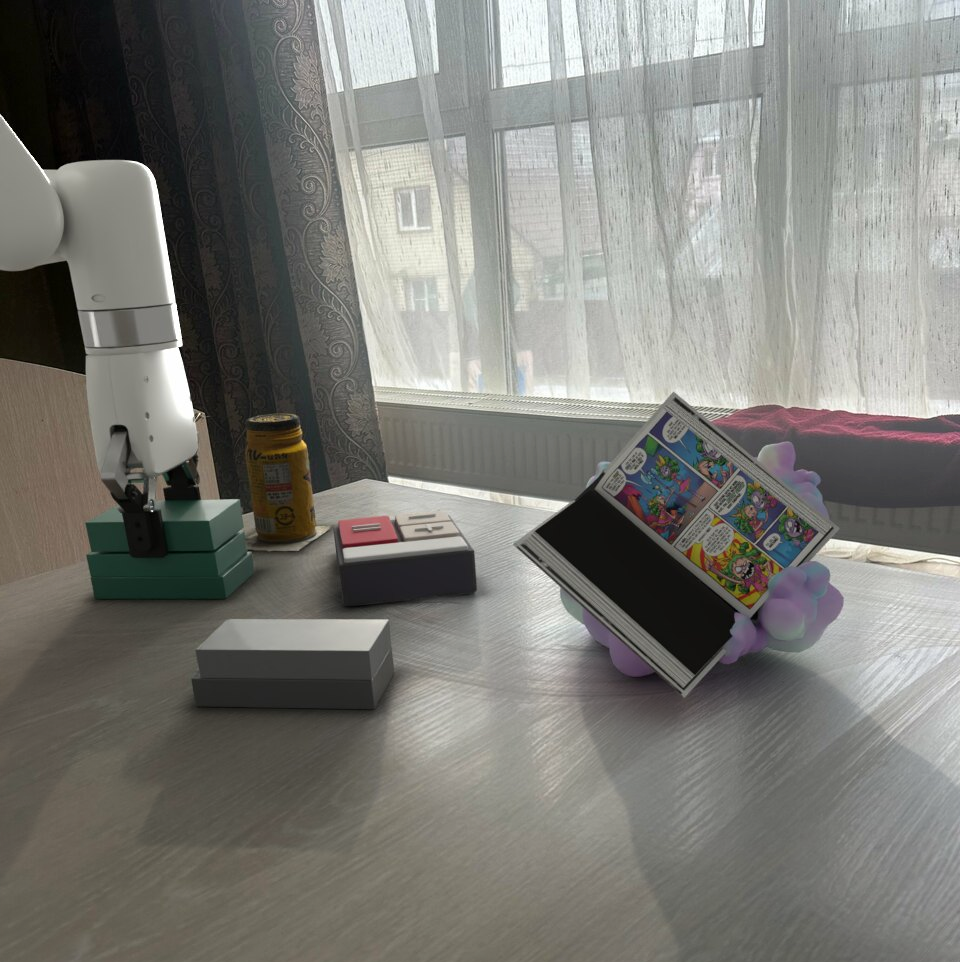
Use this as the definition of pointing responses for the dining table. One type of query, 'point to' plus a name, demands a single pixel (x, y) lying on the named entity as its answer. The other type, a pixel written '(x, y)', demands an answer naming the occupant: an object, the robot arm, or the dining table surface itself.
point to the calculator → (403, 558)
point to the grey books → (295, 664)
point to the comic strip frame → (691, 551)
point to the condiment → (279, 484)
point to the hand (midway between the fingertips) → (169, 541)
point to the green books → (172, 573)
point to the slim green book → (173, 525)
